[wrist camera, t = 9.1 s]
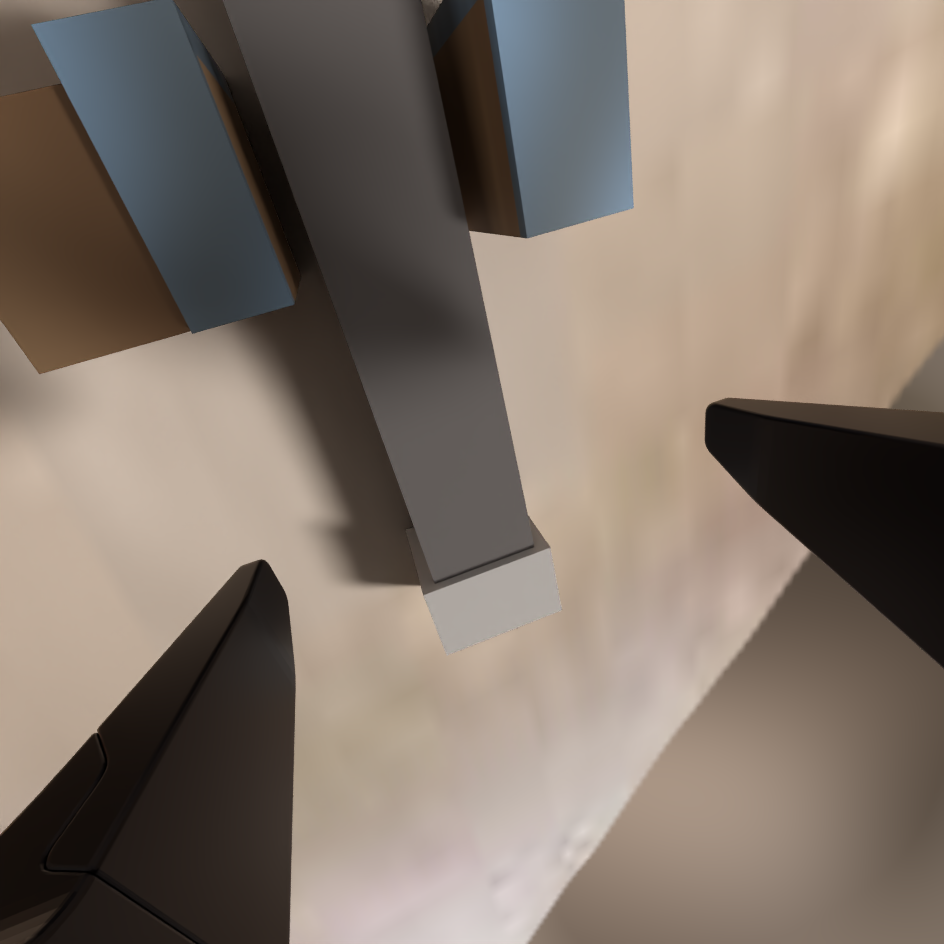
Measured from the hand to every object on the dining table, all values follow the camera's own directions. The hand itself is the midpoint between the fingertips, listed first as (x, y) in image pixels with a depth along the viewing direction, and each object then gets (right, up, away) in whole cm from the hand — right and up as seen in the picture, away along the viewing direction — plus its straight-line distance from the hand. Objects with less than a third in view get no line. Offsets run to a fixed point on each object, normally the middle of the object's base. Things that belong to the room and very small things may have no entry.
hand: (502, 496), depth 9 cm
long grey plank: (-3, +5, +6) cm, 8 cm away
